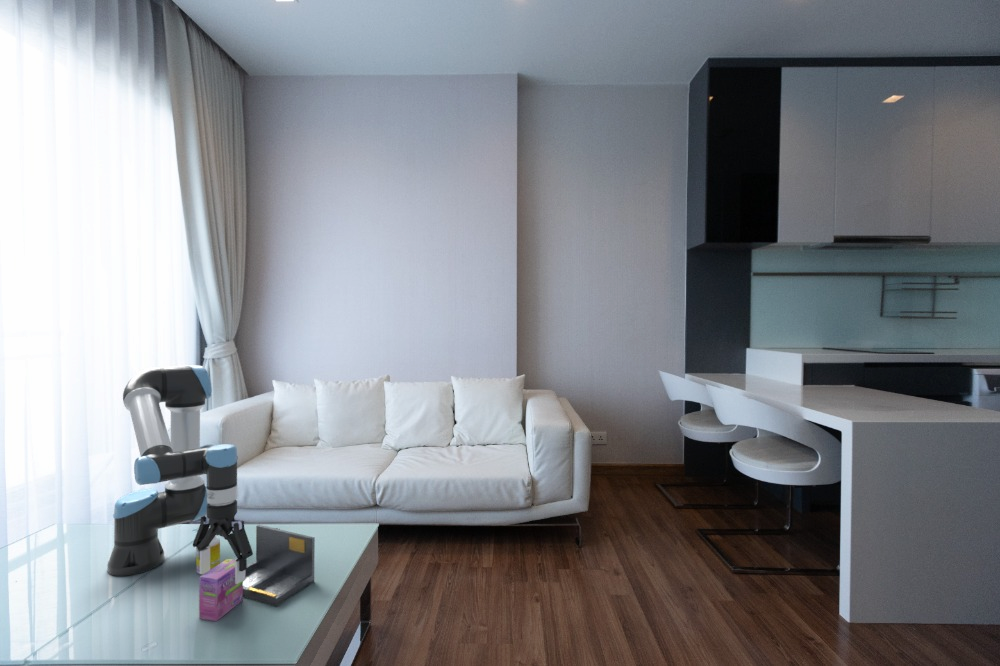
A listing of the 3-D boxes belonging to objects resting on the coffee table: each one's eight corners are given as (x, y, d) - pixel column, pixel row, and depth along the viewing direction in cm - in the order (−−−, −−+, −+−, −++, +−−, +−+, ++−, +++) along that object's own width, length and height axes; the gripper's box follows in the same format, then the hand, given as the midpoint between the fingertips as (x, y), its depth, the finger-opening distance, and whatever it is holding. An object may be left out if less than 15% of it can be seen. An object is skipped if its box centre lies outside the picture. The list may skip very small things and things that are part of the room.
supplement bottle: (222, 563, 168) (222, 525, 167) (217, 573, 162) (217, 533, 161) (199, 566, 166) (199, 527, 165) (193, 576, 160) (193, 536, 159)
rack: (218, 589, 152) (218, 543, 152) (258, 566, 166) (258, 524, 166) (276, 607, 144) (277, 558, 143) (314, 581, 158) (314, 537, 157)
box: (216, 622, 137) (216, 578, 136) (198, 619, 138) (198, 576, 137) (243, 600, 147) (243, 560, 146) (226, 598, 148) (226, 558, 148)
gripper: (178, 499, 142) (178, 574, 143) (244, 512, 133) (244, 592, 134) (202, 491, 149) (202, 562, 150) (266, 503, 140) (266, 579, 141)
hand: (222, 576), depth 142 cm, fingers open, 13 cm apart
